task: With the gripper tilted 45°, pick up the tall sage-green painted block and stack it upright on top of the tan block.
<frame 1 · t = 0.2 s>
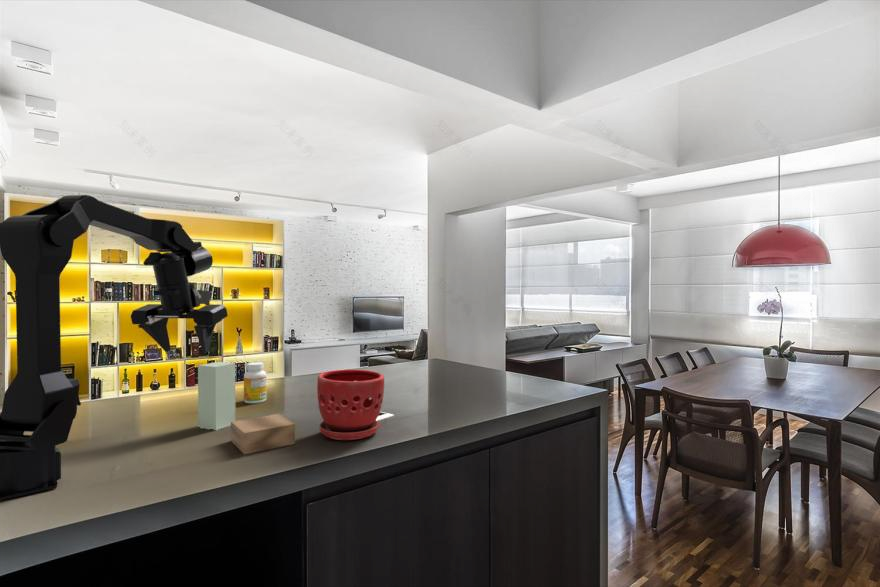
hand: (187, 351, 100), 15 cm above the counter, tool tilted 15°, fingers open, 9 cm apart
plant pot: (351, 434, 92), on the counter
tan block: (262, 443, 87), on the counter
sage block: (217, 425, 97), on the counter
cell phone: (357, 416, 106), on the counter
supplement bottle: (255, 401, 118), on the counter
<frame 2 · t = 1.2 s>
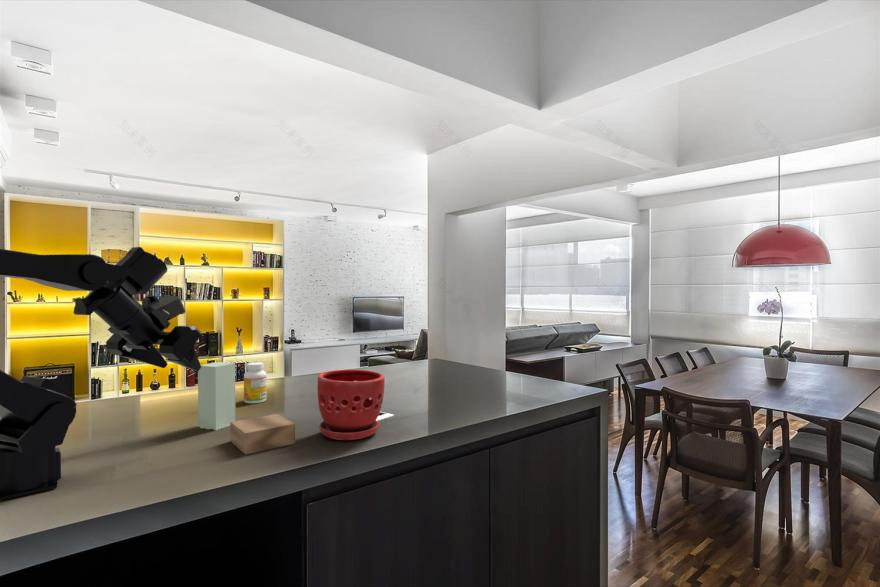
hand: (182, 367, 90), 14 cm above the counter, tool tilted 45°, fingers open, 9 cm apart
nothing on the counter moved.
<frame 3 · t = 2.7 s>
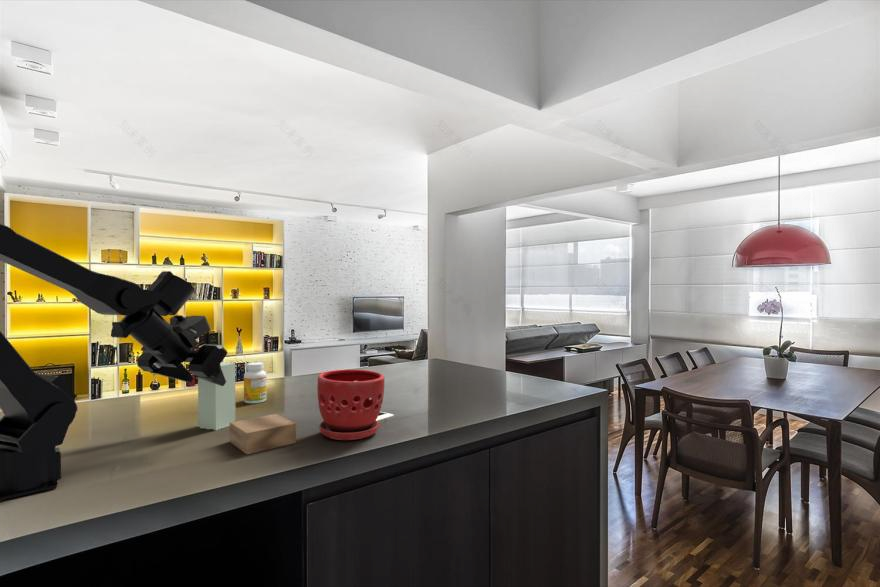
hand: (207, 382, 95), 10 cm above the counter, tool tilted 45°, fingers open, 9 cm apart
nothing on the counter moved.
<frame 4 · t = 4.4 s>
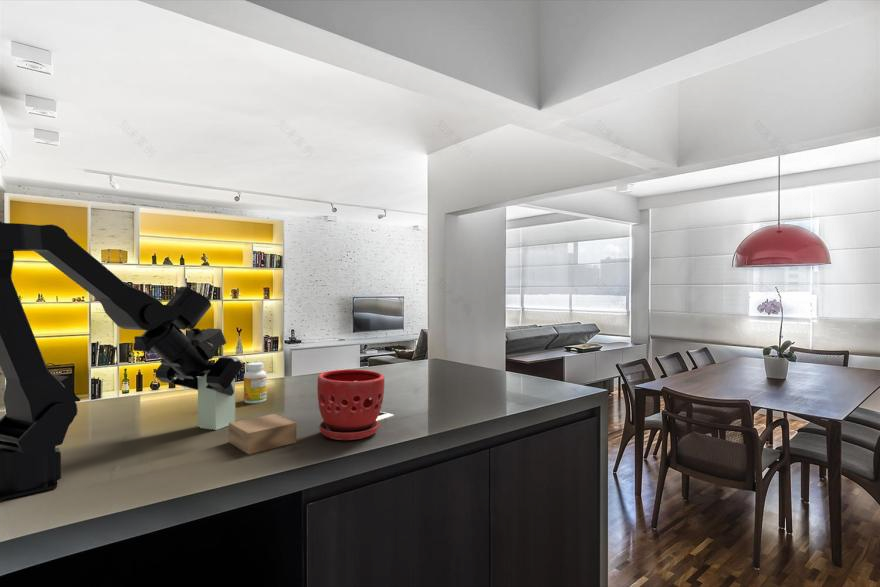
hand: (222, 392, 98), 7 cm above the counter, tool tilted 45°, fingers closed on sage block, 5 cm apart
sage block: (217, 425, 97), on the counter, touching gripper
everything else where it was.
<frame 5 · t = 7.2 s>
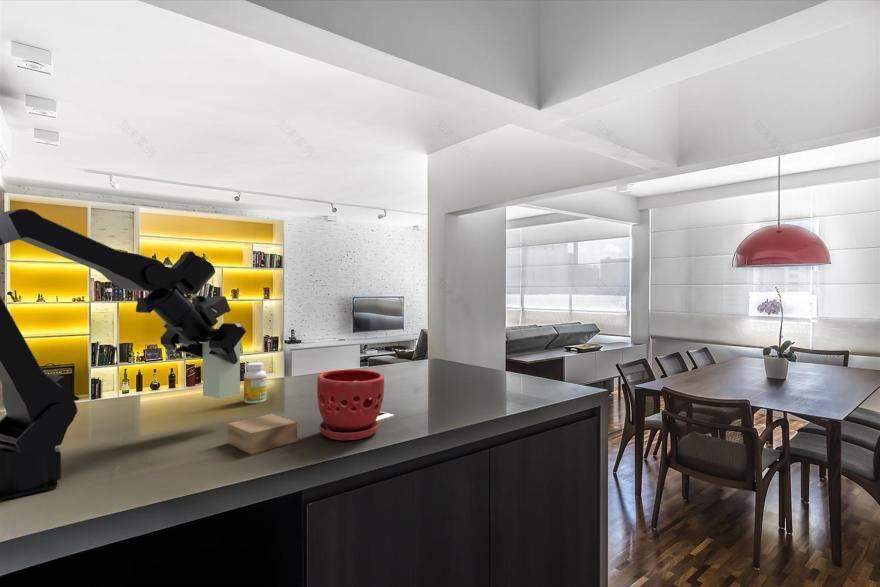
hand: (227, 361, 98), 13 cm above the counter, tool tilted 45°, fingers closed on sage block, 5 cm apart
sage block: (221, 394, 96), point 7 cm above the counter, touching gripper
everything else where it was.
when the fingers open (12 cm above the counter, at t = 9.6 s): sage block drops 2 cm, resting on tan block.
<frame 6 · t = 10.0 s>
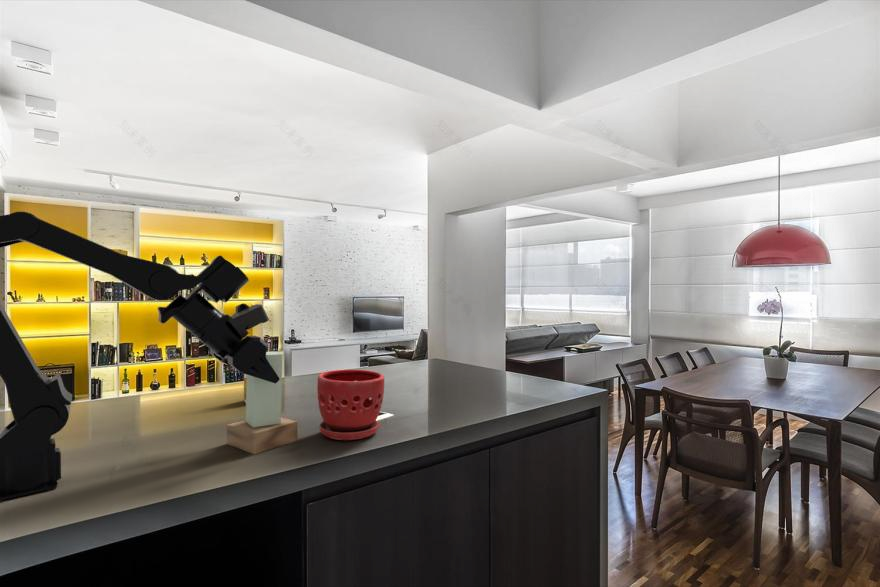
hand: (269, 377, 87), 12 cm above the counter, tool tilted 45°, fingers open, 9 cm apart
tan block: (262, 444, 87), on the counter, touching sage block
sage block: (263, 422, 87), point 4 cm above the counter, touching tan block
everything else where it was.
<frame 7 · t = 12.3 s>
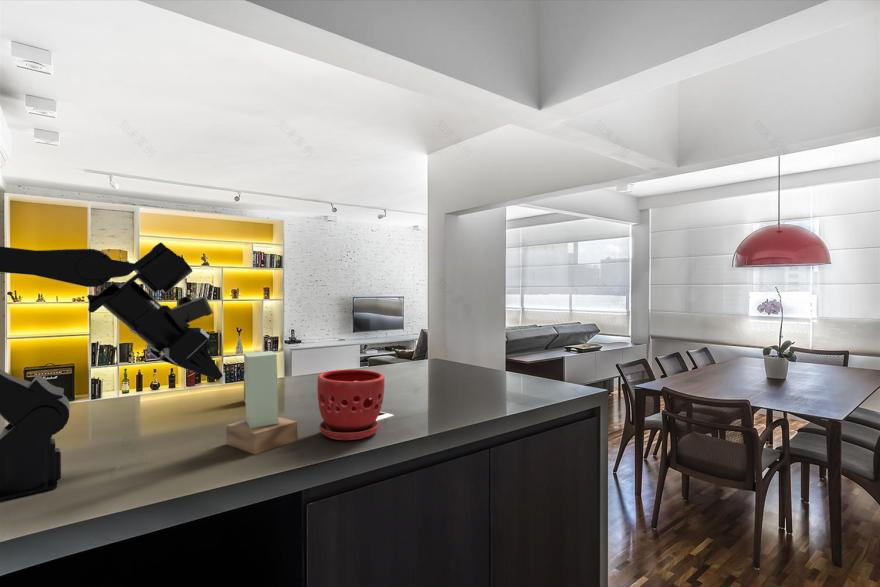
hand: (212, 375, 82), 13 cm above the counter, tool tilted 45°, fingers open, 9 cm apart
tan block: (262, 444, 87), on the counter
sage block: (262, 422, 87), point 4 cm above the counter
everything else where it was.
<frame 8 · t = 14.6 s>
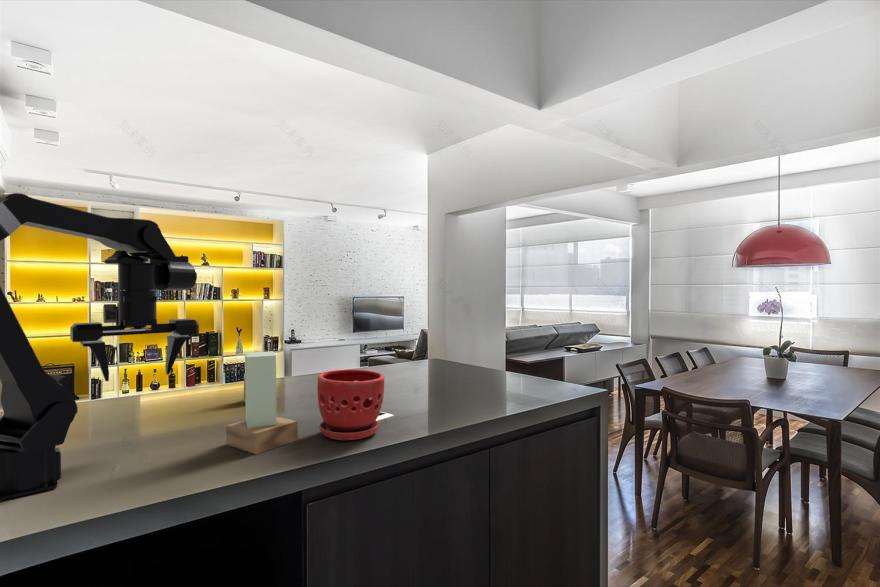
hand: (138, 377, 82), 13 cm above the counter, tool pointing down, fingers open, 9 cm apart
tan block: (262, 444, 87), on the counter, touching sage block
sage block: (260, 422, 87), point 4 cm above the counter, touching tan block
everything else where it was.
at the end: sage block 0.4 cm off-centre on the tan block, point 4.1 cm above the tan block's base; sage block tilted 2°; the gripper is holding nothing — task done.
